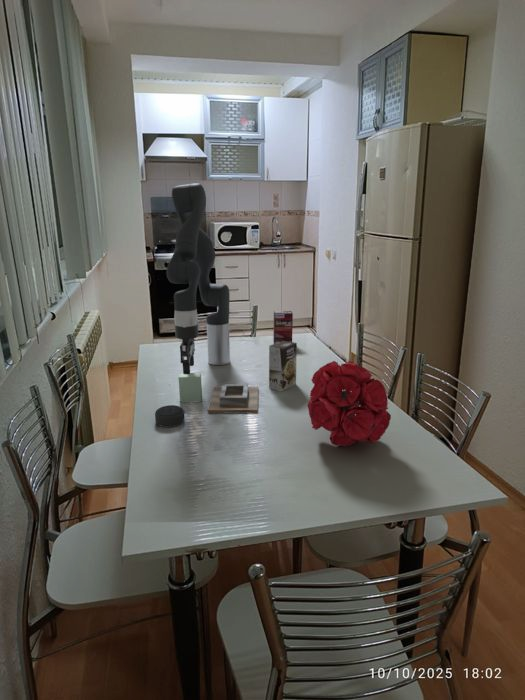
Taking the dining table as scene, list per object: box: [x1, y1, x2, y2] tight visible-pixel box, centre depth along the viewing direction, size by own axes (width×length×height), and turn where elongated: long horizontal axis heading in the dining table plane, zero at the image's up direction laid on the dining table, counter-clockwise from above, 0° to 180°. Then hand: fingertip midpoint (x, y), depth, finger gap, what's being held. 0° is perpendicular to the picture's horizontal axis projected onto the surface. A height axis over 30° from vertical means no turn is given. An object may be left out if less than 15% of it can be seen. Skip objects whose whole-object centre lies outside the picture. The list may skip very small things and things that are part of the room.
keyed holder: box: [207, 383, 259, 414], centre depth 162 cm, size 20×16×4 cm
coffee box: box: [268, 341, 298, 392], centre depth 172 cm, size 9×6×16 cm
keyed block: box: [178, 372, 203, 403], centre depth 162 cm, size 4×7×9 cm, turn 90°
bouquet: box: [306, 360, 392, 447], centre depth 134 cm, size 22×24×30 cm
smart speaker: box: [154, 404, 186, 428], centre depth 147 cm, size 9×9×4 cm
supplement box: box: [272, 310, 294, 344], centre depth 223 cm, size 9×5×16 cm, turn 95°
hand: (188, 369), depth 160 cm, fingers open, 8 cm apart
